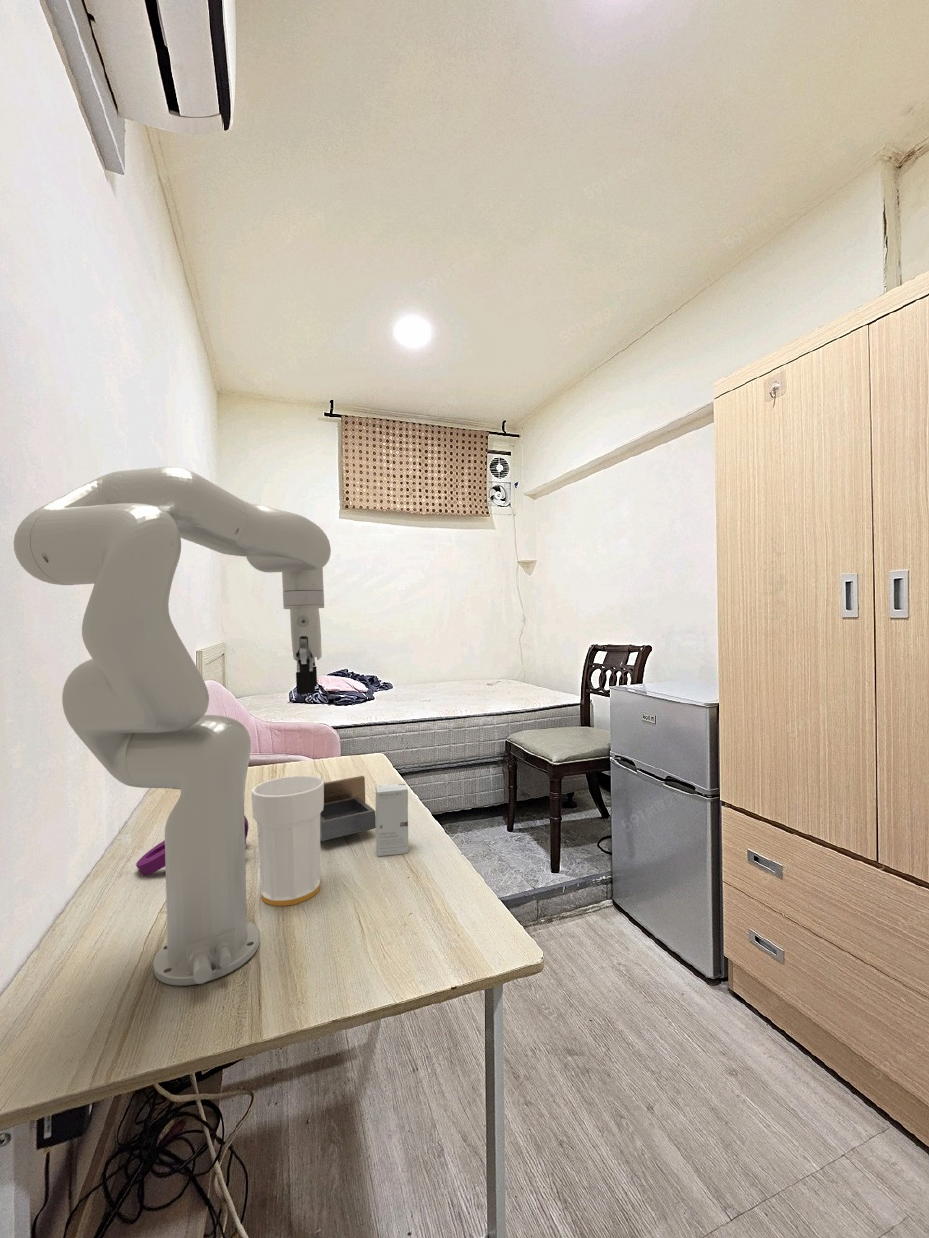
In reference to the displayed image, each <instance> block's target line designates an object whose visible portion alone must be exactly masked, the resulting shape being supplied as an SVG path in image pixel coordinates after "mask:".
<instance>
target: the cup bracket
mask: <svg viewBox="0 0 929 1238" xmlns="http://www.w3.org/2000/svg"><path fill="white" fill-rule="evenodd" d="M365 780H366V779H365V776H364V775H359V776H354V777H349V778H343V779H338V780H333V781H331V780H330V781H327V782H324V807H323V811H322V812H321V813H320V841H322V842H323V841H324V842H325V841H327V840H333V839H336V838H340V837H344V836H349V835H352V834H353V835H354V834H357V833H360V832H365V831H370V830H374V829H376V809H374V808H373V807H371V806H370V805H369V804H368V803H367V802H366V781H365Z"/></svg>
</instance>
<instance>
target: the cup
mask: <svg viewBox="0 0 929 1238" xmlns="http://www.w3.org/2000/svg"><path fill="white" fill-rule="evenodd" d="M324 783H325V781H324V779H322V778H320V777H319V776H313V775H290V776H283V777H279V778H271V779H269V780H266V781H263V782H261V783H259V784H257V785H255V786H253V788H252V790H251V807H252V818H253V820H255V822H256V826H257V841H258V844H257V845H258V860H259V861H258V863H259V873H260V874H259V878H260V879H259V881H260V894H261V900H262V902H264V903H265V904H267V905H269V906H273V907H274V906H275V907H285V906H294V905H297V904H300V903H302V902H306V901H308V900H309V899H310V898H312V897H314V896H315V895H317V893H318V892H319V891H320V889H321V839H320V813H321V812H322V811H323V807H324Z"/></svg>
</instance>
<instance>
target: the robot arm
mask: <svg viewBox="0 0 929 1238" xmlns="http://www.w3.org/2000/svg"><path fill="white" fill-rule="evenodd" d="M15 531H16V532H15V534H14V537H13V552H14V554H15V557H16V559H17V561H18V563H19V564H20V566H21V567H22V569H24V571H26V572H27V573H28V574H29V575H30V576H32V577H33V578H35V579H37V580H39V581H41V582H44V583H47V584H52V585H59V586H77V585H78V586H79V585H93V588H92V591H91V594H90V596H89V599H88V602H87V605H86V607H85V612H84V614H83V618H82V623H81V635H82V640H83V644H84V647H85V648H86V650H87V653H88V654H89V656H90V657H91V658H90V659H88V660H85V661H84V662H82V663H81V664H79V665H77V666H76V667H75V668H74V669H73V670H72V671H70V674H69V675H68V676H67V678H66V680H65V682H64V685H63V688H62V697H61V702H62V708H63V713H64V717H65V719H66V721H67V722H68V724H69V726H70V727H71V729H72V730H73V731H74V733H75V734H76V735H77V737H78V738H79V739H80V740H81V741H82V742H83V744H84V745H85V746H86V747H87V749H89V752H91V754H92V755H93V756H94V757H95V758H96V759H97V760H98V761H99V762H100V764H101V765H102V766H103V767H104V768H105V770H106V771H107V772H108V773H109V774H110V775H111V776H112V778H114V779H115V780H117V781H118V782H120V783H121V784H124V785H126V786H129V787H133V788H141V789H142V788H143V789H172V790H180V794H179V797H178V799H177V801H176V803H175V805H174V806H173V808H172V809H171V811H170V813H169V815H168V817H167V819H166V824H165V827H164V840H165V901H166V913H165V914H166V943H165V944H163V946H161V948H160V949H159V951H158V952H157V953H156V954H155V957H154V960H153V974H154V976H155V977H156V979H157V980H158V981H160V982H162V983H164V984H167V985H170V986H171V985H172V986H193V985H198V984H199V985H202V984H205V983H207V982H211V981H212V980H216V979H219V978H221V977H224V976H225V975H228V974H230V973H232V972H233V971H235V970H236V969H239V968H240V967H241V966H243V965H244V964H246V962H248V961H249V960H250V959H251V958H252V957H253V956H254V954H255V953H256V952H257V950H258V949H259V946H260V941H261V939H260V938H261V935H260V929H259V928H258V926H256V924H254V923H253V922H250V921H248V915H247V914H248V910H247V909H248V908H247V905H248V904H247V876H246V875H247V873H246V871H247V870H246V865H247V864H246V845H245V822H244V815H245V799H246V798H245V796H246V795H245V793H246V792H245V791H246V782H247V776H248V769H249V763H250V757H251V749H252V741H251V736H250V733H249V731H248V729H247V728H246V727H245V726H244V725H243V724H242V723H241V722H240V721H238V720H237V719H234V718H232V717H230V716H223V715H215V714H206V712H207V711H208V708H209V703H210V695H209V691H208V687H207V685H206V683H205V681H204V678H203V676H202V674H201V672H200V671H199V669H198V667H197V665H196V663H195V662H194V660H193V658H192V656H191V655H190V653H189V651H188V650H187V648H186V647H185V644H184V643H183V641H182V639H181V637H180V636H179V633H178V632H177V629H176V628H175V626H174V624H173V622H172V619H171V615H170V611H169V610H170V609H169V607H170V606H169V603H170V593H171V589H172V583H173V581H174V578H175V577H174V576H175V574H176V570H177V567H178V563H179V561H180V558H181V553H182V539H183V540H185V541H187V542H191V543H194V544H197V545H200V546H202V547H205V548H207V549H209V550H212V551H215V552H217V553H221V554H223V555H228V556H236V557H246V560H247V562H248V563H249V564H250V566H252V568H254V569H256V570H257V571H259V572H262V573H269V574H271V573H272V574H273V573H281V579H282V581H281V582H282V601H283V602H282V603H283V604H282V606H283V610H289V616H290V635H291V636H290V637H291V647H292V657H293V661H296V672H295V682H296V684H295V685H296V694H297V695H307V694H308V695H309V694H314V693H315V692H316V687H317V686H318V675H317V673H318V672H317V666H316V660H317V661H319V660H320V659H321V658H322V656H323V655H322V632H321V631H322V629H321V616H320V609H325V593H324V592H325V590H324V587H325V586H324V570H323V569H324V567H325V566H326V565H327V564H328V562H329V560H330V558H331V553H332V550H331V543H330V540H329V537H328V536H327V534H326V533H325V532H324V530H323V529H322V528H321V527H320V526H319V525H317V524H316V523H315V522H313V521H311V520H310V519H308V518H306V517H304V516H302V515H299V514H296V513H294V512H290V511H286V510H281V509H278V508H272V507H270V506H266V505H261V504H257V503H254V502H253V503H252V502H247V501H245V500H243V499H241V498H239V497H238V496H236V495H234V494H232V493H230V492H229V491H227V490H226V489H224V488H222V487H220V486H219V485H217V484H215V483H213V482H211V481H210V480H208V479H207V478H204V476H201V475H200V474H197V473H196V472H194V471H192V470H189V469H187V468H183V467H178V466H158V467H148V468H140V469H139V468H138V469H129V470H128V469H127V470H118V471H114V472H110V473H107V474H104V475H101V476H100V477H97V478H95V479H93V480H91V481H89V482H87V483H85V484H83V485H81V486H79V487H78V488H75V489H73V490H72V491H69V492H68V493H66V494H64V495H62V496H60V497H58V498H56V499H54V500H52V501H50V502H48V503H46V504H45V505H42V506H41V507H39V508H37V509H35V510H34V511H32V512H31V513H29V514H27V516H26V517H24V519H22V521H21V522H20V524H19V525H18V526H17V529H16V530H15Z"/></svg>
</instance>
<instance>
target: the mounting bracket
mask: <svg viewBox="0 0 929 1238" xmlns="http://www.w3.org/2000/svg"><path fill="white" fill-rule="evenodd" d="M244 822H245V846H246V844H247V837H248V833H249V822H248V818H247V817H246V815H245V814H244ZM135 867H136V868H137V870H138V871H139V873H140V875H142V877H144V876H149V875H151V874H153V873H155V872H158V871H159V870H161V869H163V868H164V867H165V839H164V840H163V841H160V843H158V844H157V845H155V846H153V847H152V848H151V849H149V850H148V851H147V852H146V853H145V854H144V855H142V857H140V858H139V860H138V861H137V862H136V864H135Z"/></svg>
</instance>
